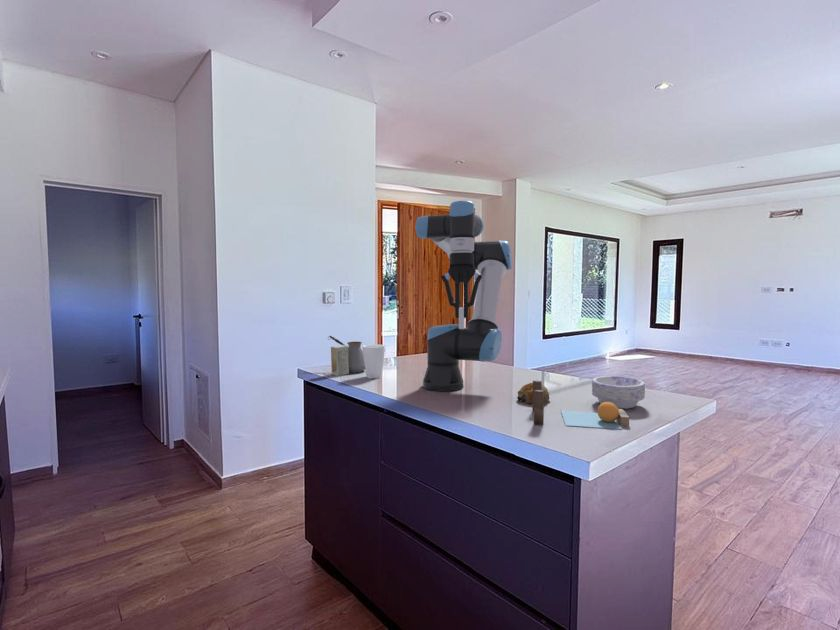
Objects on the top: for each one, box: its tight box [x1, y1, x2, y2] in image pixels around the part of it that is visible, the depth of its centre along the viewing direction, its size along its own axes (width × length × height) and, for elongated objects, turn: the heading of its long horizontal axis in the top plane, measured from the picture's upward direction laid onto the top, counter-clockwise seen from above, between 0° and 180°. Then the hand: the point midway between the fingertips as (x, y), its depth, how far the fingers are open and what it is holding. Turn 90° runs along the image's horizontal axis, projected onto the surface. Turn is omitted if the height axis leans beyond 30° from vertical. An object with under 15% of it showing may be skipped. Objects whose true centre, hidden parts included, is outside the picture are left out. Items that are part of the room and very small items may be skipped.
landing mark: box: [560, 410, 622, 430], centre depth 125 cm, size 14×14×1 cm
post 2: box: [533, 390, 545, 426], centre depth 122 cm, size 3×3×9 cm
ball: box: [596, 402, 619, 422], centre depth 123 cm, size 6×6×6 cm
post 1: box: [532, 379, 543, 412], centre depth 134 cm, size 3×3×9 cm
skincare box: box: [330, 344, 350, 377], centre depth 190 cm, size 6×4×12 cm
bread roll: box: [516, 382, 551, 405], centre depth 145 cm, size 10×10×8 cm
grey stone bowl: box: [591, 375, 646, 410], centre depth 140 cm, size 15×15×8 cm
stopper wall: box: [616, 409, 630, 427], centre depth 123 cm, size 8×2×2 cm, turn 167°
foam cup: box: [361, 343, 386, 379], centre depth 184 cm, size 10×9×13 cm
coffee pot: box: [327, 335, 366, 374], centre depth 200 cm, size 21×12×15 cm, turn 57°
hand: (461, 328), depth 139 cm, fingers closed
